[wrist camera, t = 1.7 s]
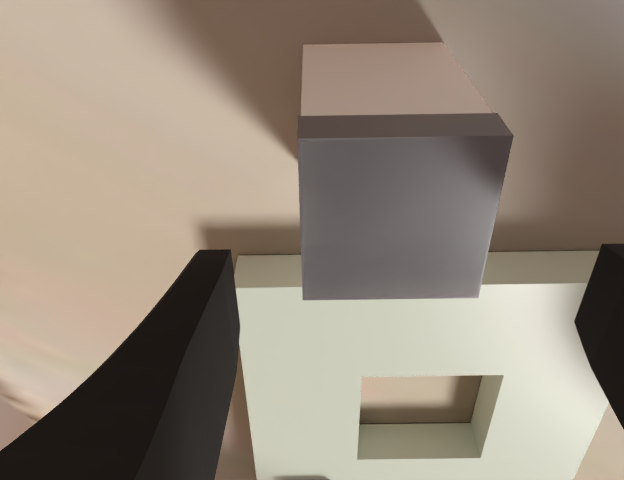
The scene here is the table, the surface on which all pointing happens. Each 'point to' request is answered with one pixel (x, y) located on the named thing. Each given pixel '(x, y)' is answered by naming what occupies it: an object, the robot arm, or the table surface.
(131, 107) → the table surface
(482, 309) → the socket block
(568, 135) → the table surface
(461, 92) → the plug
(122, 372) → the robot arm
